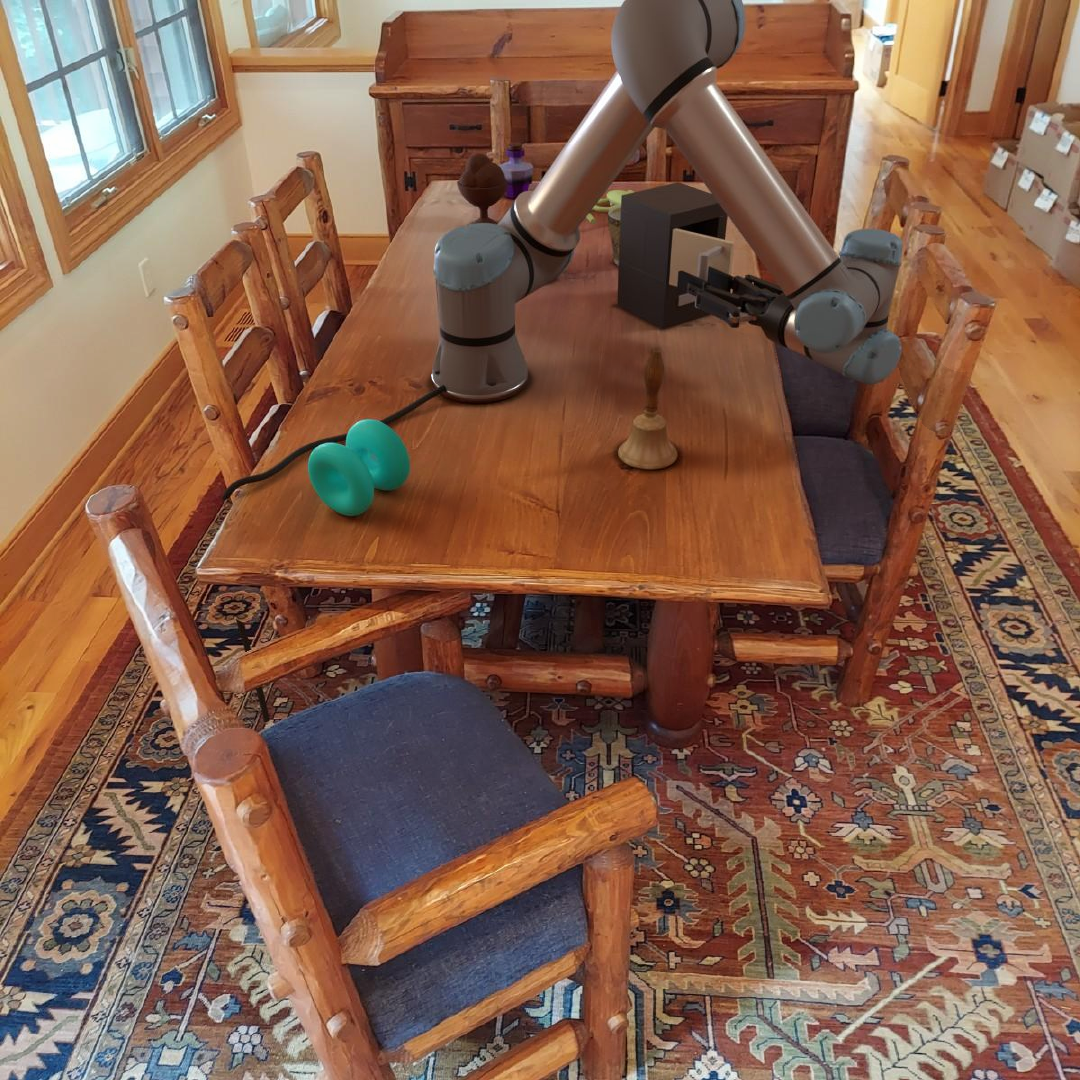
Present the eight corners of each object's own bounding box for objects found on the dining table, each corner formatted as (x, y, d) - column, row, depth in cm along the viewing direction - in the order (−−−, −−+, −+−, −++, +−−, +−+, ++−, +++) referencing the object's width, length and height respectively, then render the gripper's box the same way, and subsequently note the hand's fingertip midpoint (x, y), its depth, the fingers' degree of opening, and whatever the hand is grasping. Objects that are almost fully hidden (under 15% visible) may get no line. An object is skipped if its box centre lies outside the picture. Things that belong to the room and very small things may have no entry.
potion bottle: (541, 197, 229) (540, 144, 222) (510, 203, 226) (508, 150, 219) (522, 188, 235) (521, 136, 228) (492, 194, 232) (490, 142, 224)
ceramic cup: (649, 274, 189) (652, 223, 183) (600, 268, 192) (601, 218, 186) (664, 251, 199) (667, 203, 193) (617, 247, 201) (619, 198, 195)
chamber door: (706, 311, 153) (712, 254, 148) (649, 295, 159) (652, 239, 153) (728, 298, 158) (734, 241, 152) (671, 283, 163) (675, 228, 158)
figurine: (573, 239, 205) (573, 213, 202) (576, 200, 227) (577, 176, 224) (659, 240, 204) (661, 213, 201) (655, 201, 226) (656, 176, 222)
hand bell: (640, 433, 139) (646, 330, 130) (688, 452, 135) (698, 347, 125) (606, 457, 134) (610, 351, 124) (655, 477, 130) (663, 369, 120)
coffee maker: (719, 312, 173) (731, 200, 162) (664, 330, 168) (673, 215, 156) (670, 289, 182) (678, 181, 171) (616, 305, 177) (621, 195, 165)
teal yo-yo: (309, 505, 125) (297, 439, 119) (361, 471, 132) (352, 406, 126) (367, 530, 120) (357, 462, 114) (417, 493, 127) (411, 427, 121)
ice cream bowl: (453, 231, 210) (448, 160, 202) (470, 215, 219) (467, 146, 210) (498, 235, 208) (496, 163, 199) (514, 219, 216) (512, 149, 208)
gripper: (754, 363, 136) (648, 310, 152) (835, 333, 144) (727, 286, 160) (760, 313, 132) (650, 264, 148) (844, 285, 140) (731, 241, 155)
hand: (690, 275), depth 154 cm, fingers open, 4 cm apart
